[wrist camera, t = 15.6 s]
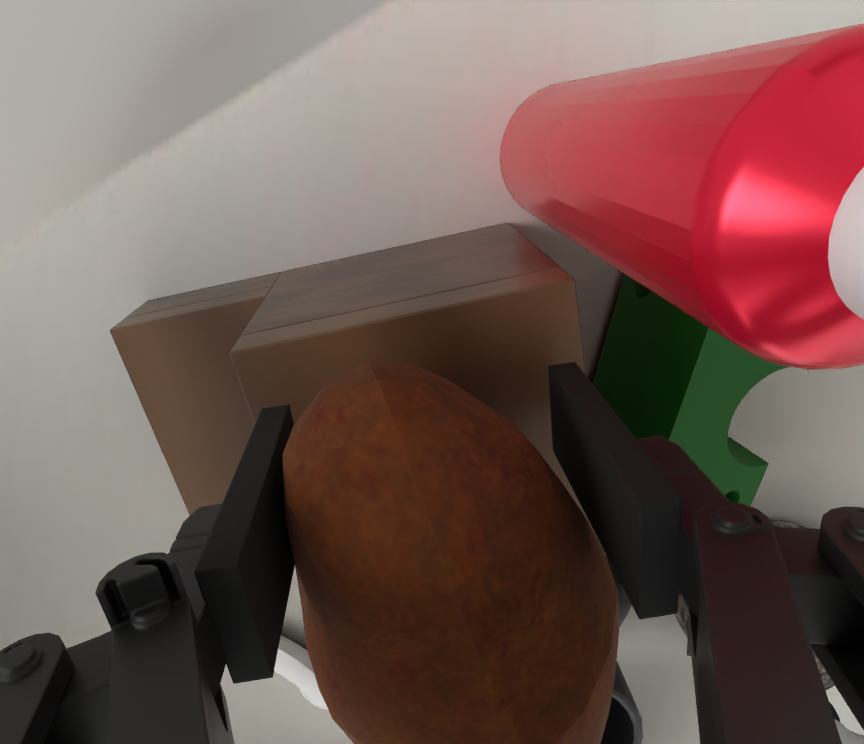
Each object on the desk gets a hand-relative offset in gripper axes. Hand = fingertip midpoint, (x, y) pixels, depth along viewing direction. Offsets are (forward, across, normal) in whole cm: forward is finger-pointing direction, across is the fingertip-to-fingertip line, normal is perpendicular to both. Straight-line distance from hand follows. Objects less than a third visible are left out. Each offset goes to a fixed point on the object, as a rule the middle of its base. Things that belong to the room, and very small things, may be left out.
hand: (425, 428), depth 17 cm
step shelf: (+11, -3, -3) cm, 12 cm away
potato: (0, 0, -3) cm, 3 cm away
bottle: (+11, +7, +6) cm, 15 cm away
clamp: (+11, +12, -5) cm, 17 cm away
